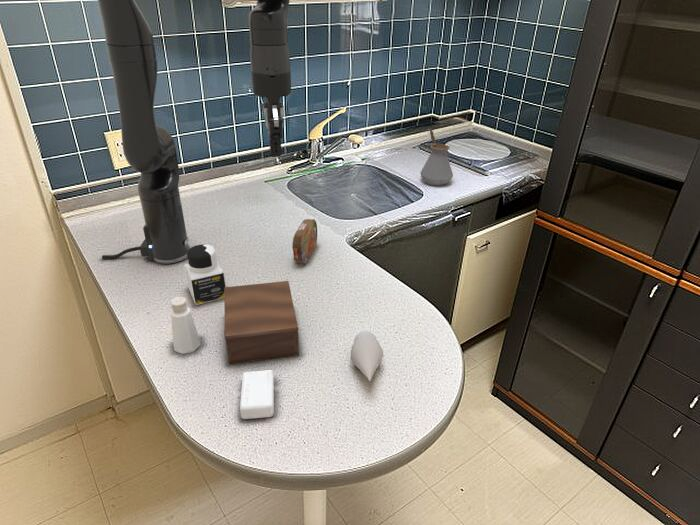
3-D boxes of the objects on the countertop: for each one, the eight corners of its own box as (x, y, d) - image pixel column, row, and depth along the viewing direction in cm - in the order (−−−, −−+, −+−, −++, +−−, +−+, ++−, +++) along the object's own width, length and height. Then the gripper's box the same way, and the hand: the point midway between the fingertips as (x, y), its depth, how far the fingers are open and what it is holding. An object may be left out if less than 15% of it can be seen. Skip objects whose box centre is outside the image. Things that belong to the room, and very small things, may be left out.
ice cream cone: (366, 401, 86) (362, 355, 100) (394, 383, 85) (386, 338, 99) (344, 379, 84) (343, 335, 98) (373, 359, 83) (367, 317, 97)
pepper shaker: (196, 354, 96) (188, 309, 90) (169, 354, 96) (158, 308, 90) (204, 337, 101) (196, 292, 95) (177, 336, 101) (168, 291, 95)
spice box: (299, 354, 97) (297, 327, 93) (229, 364, 94) (225, 336, 90) (289, 309, 109) (288, 283, 106) (228, 316, 107) (224, 290, 103)
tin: (303, 269, 124) (302, 240, 119) (291, 268, 124) (289, 238, 120) (318, 241, 136) (318, 214, 132) (307, 240, 137) (306, 213, 133)
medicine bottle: (195, 306, 110) (187, 259, 104) (188, 289, 115) (180, 244, 109) (227, 298, 113) (221, 252, 106) (219, 282, 118) (212, 238, 112)
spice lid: (298, 330, 92) (298, 327, 92) (225, 339, 90) (224, 336, 89) (288, 283, 106) (288, 280, 106) (224, 290, 103) (224, 287, 103)
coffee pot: (455, 187, 172) (461, 145, 164) (423, 188, 171) (427, 145, 164) (441, 166, 190) (445, 127, 183) (411, 166, 190) (415, 127, 182)
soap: (274, 418, 83) (272, 405, 81) (240, 421, 82) (239, 408, 81) (274, 380, 91) (273, 367, 89) (243, 382, 90) (242, 370, 88)
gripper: (249, 63, 100) (256, 147, 109) (252, 75, 89) (260, 167, 98) (286, 62, 101) (290, 145, 110) (294, 74, 90) (297, 165, 99)
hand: (276, 155), depth 104 cm, fingers closed
